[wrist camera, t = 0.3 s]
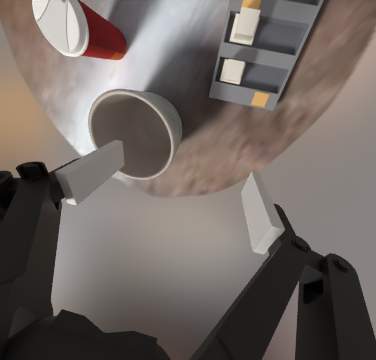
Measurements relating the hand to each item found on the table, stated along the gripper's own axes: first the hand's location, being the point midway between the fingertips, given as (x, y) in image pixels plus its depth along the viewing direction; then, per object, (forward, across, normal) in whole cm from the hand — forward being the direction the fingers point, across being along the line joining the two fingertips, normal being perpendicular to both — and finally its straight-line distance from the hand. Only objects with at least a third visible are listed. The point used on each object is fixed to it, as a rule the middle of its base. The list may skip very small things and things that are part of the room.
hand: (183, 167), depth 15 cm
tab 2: (+26, +3, +10) cm, 28 cm away
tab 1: (+26, +3, +16) cm, 30 cm away
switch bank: (+27, +7, +16) cm, 32 cm away
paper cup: (+27, -23, +11) cm, 37 cm away
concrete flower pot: (+27, -12, -4) cm, 30 cm away
